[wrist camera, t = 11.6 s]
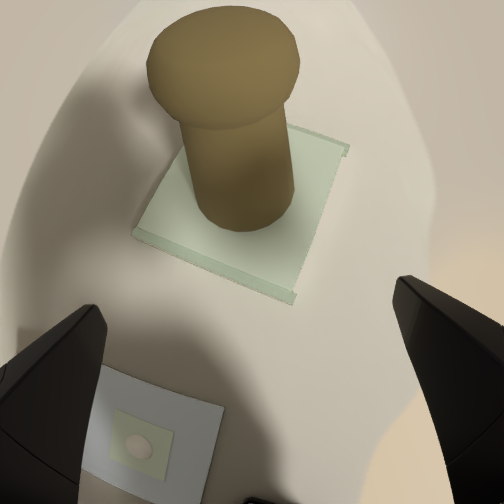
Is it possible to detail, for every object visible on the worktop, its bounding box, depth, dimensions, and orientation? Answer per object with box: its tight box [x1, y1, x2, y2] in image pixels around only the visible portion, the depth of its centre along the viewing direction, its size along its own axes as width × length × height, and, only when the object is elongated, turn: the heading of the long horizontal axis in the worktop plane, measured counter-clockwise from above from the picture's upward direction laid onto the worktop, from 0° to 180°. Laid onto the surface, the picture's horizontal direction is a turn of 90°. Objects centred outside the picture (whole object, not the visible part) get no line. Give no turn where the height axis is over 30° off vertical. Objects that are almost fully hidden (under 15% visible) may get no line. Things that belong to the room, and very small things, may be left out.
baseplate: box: [131, 123, 350, 305], centre depth 18 cm, size 11×11×1 cm
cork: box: [146, 6, 300, 232], centre depth 12 cm, size 6×6×11 cm
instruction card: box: [81, 364, 224, 504], centre depth 14 cm, size 12×9×1 cm
